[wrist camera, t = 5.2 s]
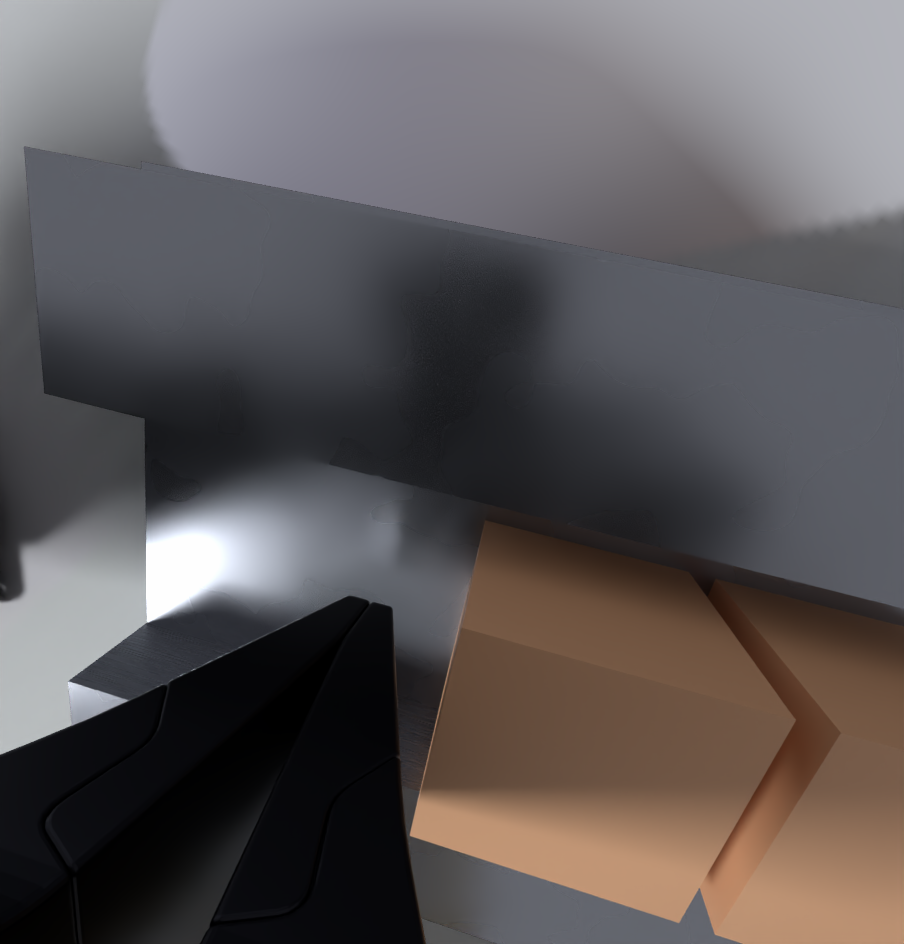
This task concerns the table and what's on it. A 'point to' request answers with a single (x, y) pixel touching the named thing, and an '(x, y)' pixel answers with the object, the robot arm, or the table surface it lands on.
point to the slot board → (450, 440)
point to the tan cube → (818, 781)
